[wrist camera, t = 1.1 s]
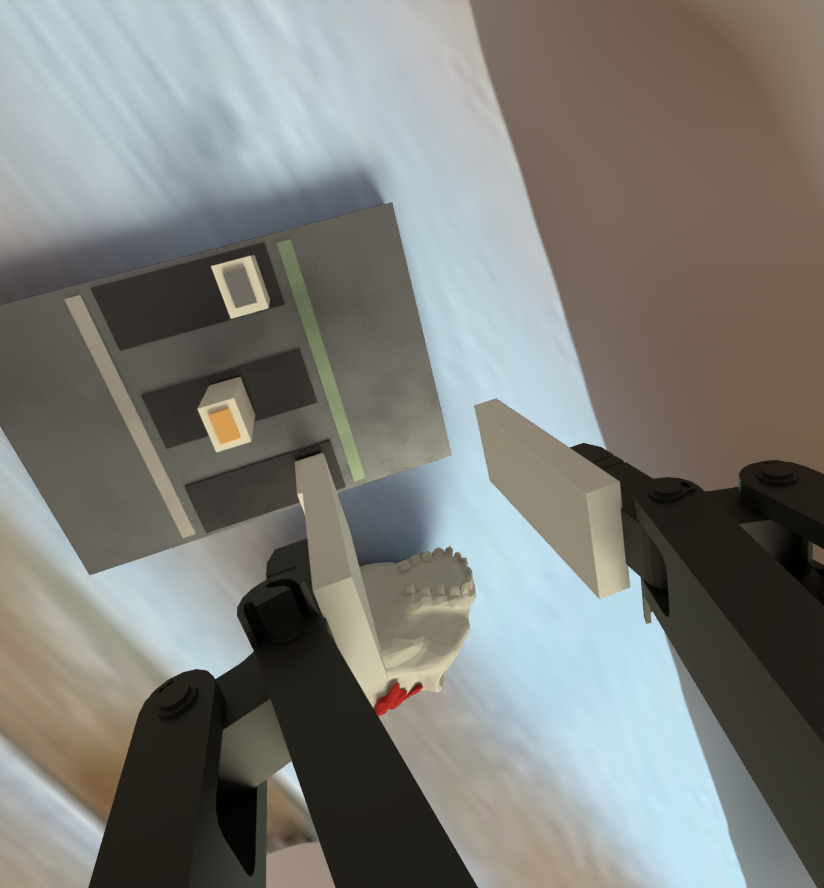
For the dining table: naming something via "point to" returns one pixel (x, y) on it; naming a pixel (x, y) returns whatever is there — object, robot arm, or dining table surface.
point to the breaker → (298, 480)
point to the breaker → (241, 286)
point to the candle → (417, 621)
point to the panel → (210, 362)
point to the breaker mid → (227, 414)
